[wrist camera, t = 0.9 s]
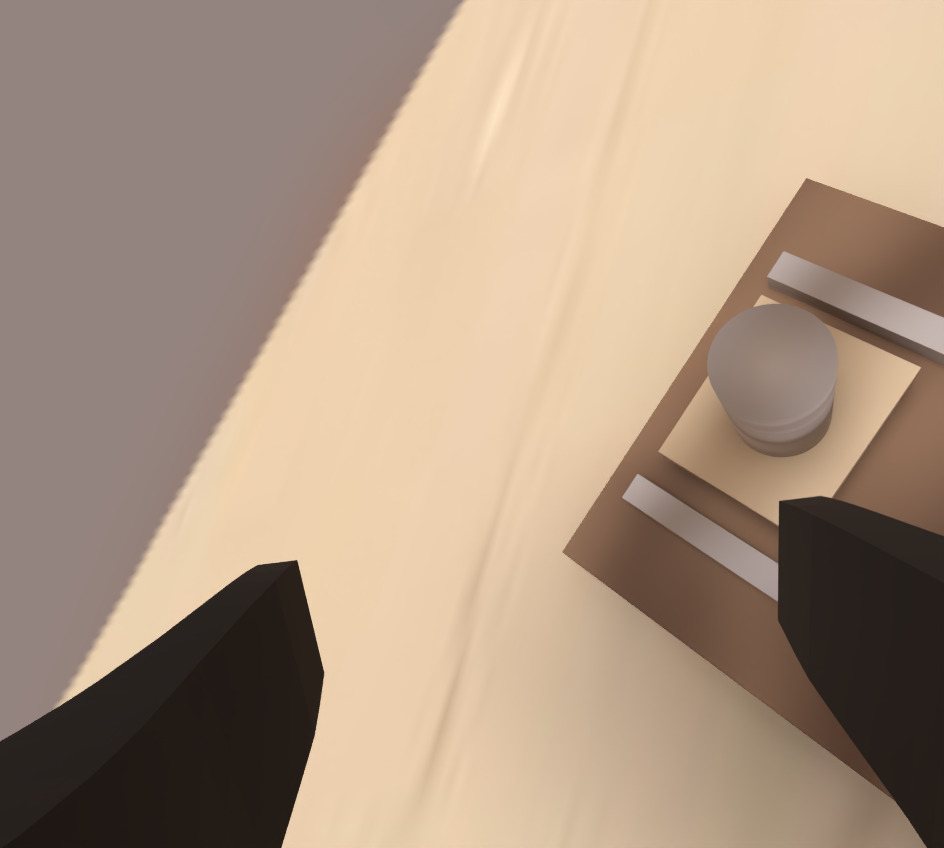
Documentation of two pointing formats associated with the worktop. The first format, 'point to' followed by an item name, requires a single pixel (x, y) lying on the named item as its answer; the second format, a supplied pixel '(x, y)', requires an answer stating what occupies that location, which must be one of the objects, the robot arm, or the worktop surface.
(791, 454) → the press ram
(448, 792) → the worktop surface
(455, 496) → the worktop surface
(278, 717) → the robot arm
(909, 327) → the board
